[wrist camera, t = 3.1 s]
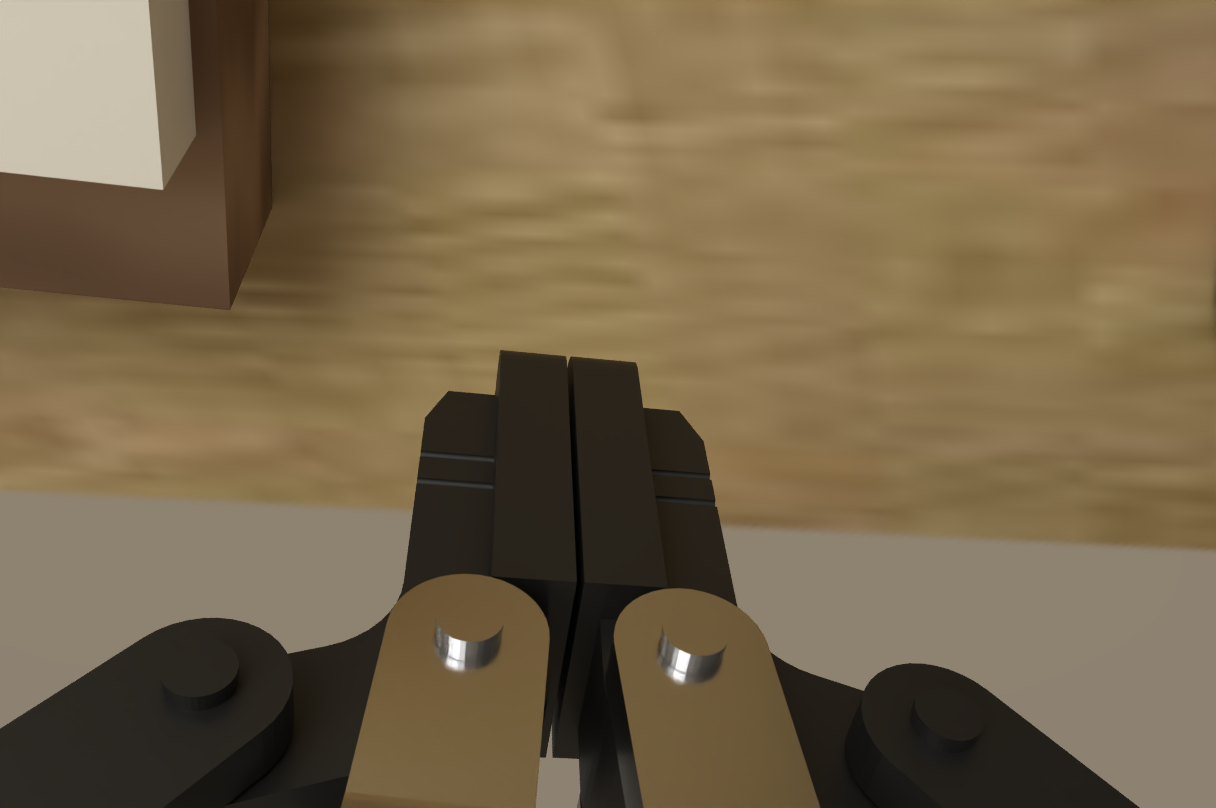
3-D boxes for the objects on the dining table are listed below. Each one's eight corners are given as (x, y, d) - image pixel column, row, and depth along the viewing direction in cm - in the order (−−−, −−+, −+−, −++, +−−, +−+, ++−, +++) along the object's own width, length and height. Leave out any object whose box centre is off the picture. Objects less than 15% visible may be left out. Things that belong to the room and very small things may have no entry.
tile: (-131, -184, 19) (-209, -155, 17) (180, -137, 20) (140, -105, 18) (-74, 103, 22) (-135, 156, 20) (196, 135, 23) (163, 189, 21)
